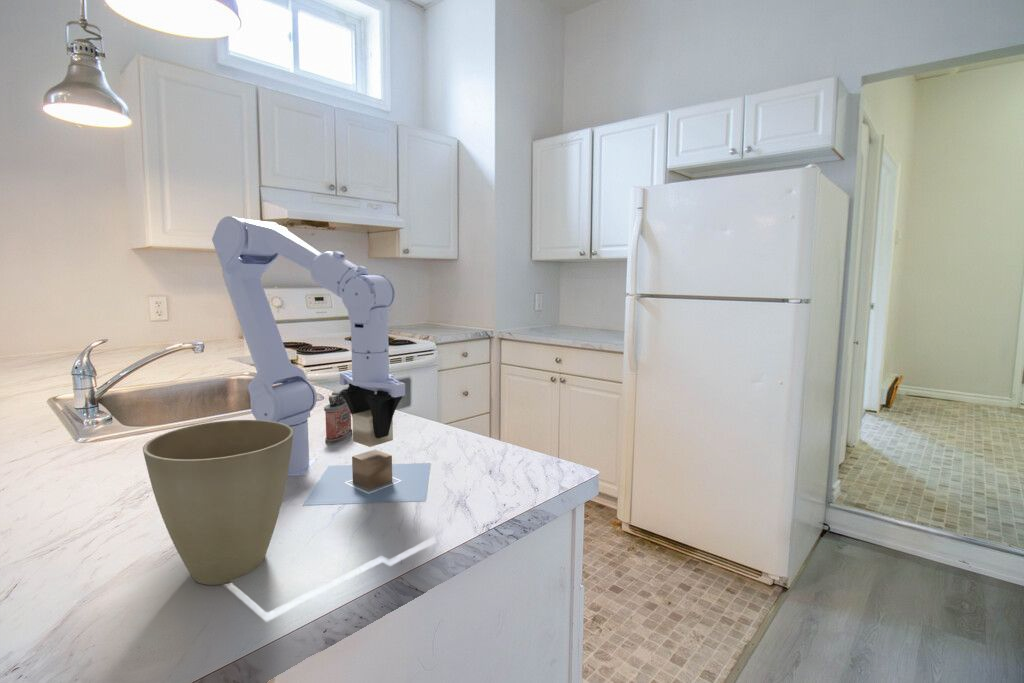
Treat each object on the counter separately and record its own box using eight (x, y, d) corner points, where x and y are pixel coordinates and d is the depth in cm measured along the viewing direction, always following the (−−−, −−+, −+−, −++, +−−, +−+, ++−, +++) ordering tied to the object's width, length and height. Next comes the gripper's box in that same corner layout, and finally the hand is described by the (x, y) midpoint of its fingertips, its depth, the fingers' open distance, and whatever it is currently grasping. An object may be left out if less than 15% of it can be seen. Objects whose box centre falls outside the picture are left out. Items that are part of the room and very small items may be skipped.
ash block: (369, 447, 81) (369, 419, 81) (353, 441, 84) (352, 414, 83) (392, 440, 85) (392, 413, 84) (376, 434, 88) (375, 408, 87)
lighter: (336, 444, 105) (335, 396, 104) (321, 443, 106) (319, 395, 105) (356, 433, 113) (354, 388, 112) (341, 431, 114) (340, 387, 113)
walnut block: (369, 490, 82) (368, 462, 81) (352, 482, 85) (352, 456, 84) (392, 481, 85) (391, 455, 85) (375, 474, 88) (375, 449, 88)
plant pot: (180, 627, 51) (169, 471, 49) (136, 570, 60) (125, 437, 58) (321, 564, 62) (317, 435, 60) (265, 524, 72) (260, 412, 70)
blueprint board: (302, 509, 76) (302, 504, 76) (328, 469, 92) (328, 465, 92) (425, 504, 78) (425, 500, 78) (430, 466, 94) (430, 462, 94)
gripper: (419, 352, 81) (420, 436, 83) (364, 344, 90) (366, 420, 92) (383, 357, 76) (384, 447, 77) (327, 348, 85) (330, 429, 86)
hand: (372, 433), depth 84 cm, fingers closed on ash block, 4 cm apart
